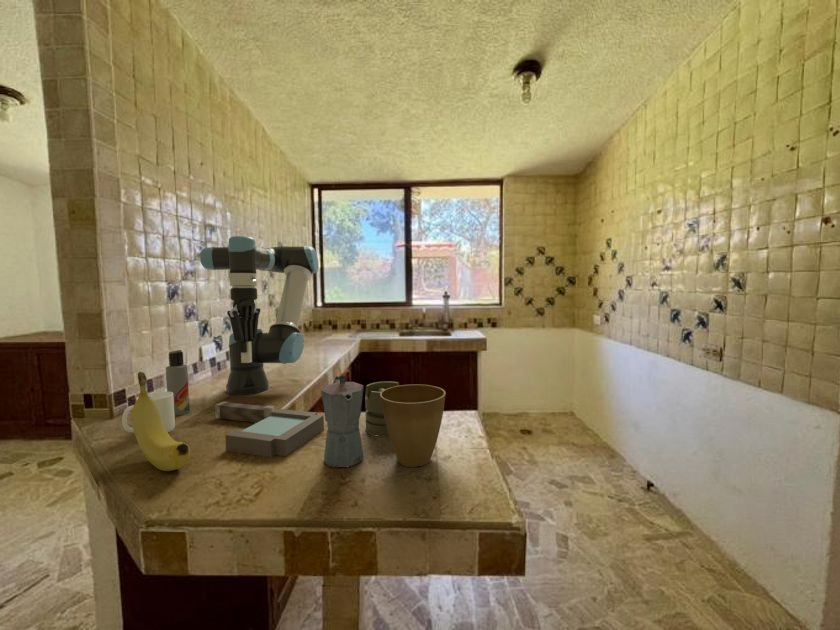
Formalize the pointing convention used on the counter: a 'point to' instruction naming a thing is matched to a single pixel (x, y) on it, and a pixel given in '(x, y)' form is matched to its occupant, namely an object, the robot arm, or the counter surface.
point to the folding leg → (242, 412)
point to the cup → (164, 406)
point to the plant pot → (413, 421)
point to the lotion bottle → (178, 382)
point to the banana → (156, 434)
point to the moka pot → (342, 422)
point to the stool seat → (276, 433)
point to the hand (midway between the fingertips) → (246, 362)
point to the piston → (376, 408)
